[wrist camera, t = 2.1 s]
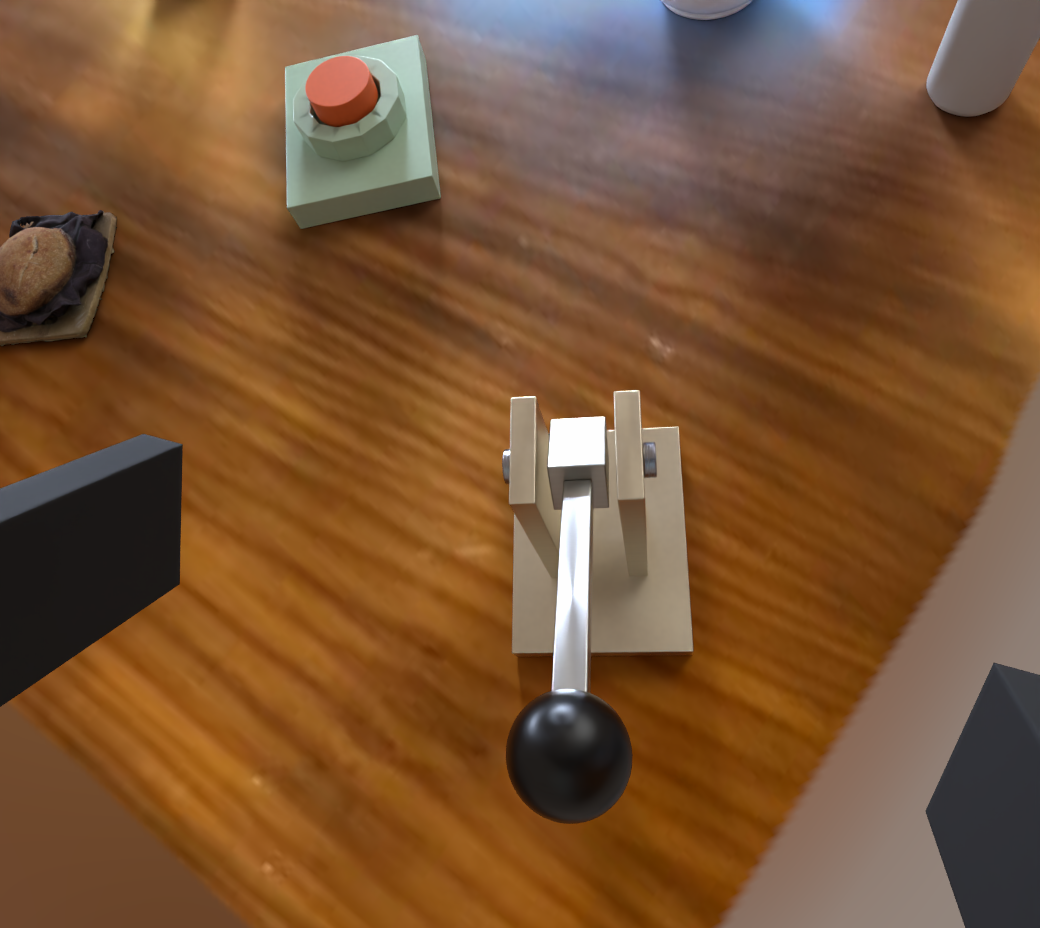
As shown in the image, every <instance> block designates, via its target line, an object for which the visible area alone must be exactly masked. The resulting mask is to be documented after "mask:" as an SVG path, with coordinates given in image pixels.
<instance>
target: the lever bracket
mask: <svg viewBox="0 0 1040 928" xmlns="http://www.w3.org/2000/svg"><path fill="white" fill-rule="evenodd" d="M614 420H615V430H607V441H608V453H609V508H594V512H593V570H592V628H591V656H678V655H692V654H693V651H694V649H693V634H692V619H691V605H690V590H689V575H688V560H687V545H686V530H685V515H684V500H683V485H682V470H681V455H680V440H679V427H664V428H645V429H642V424H641V403H640V391H639V390H633V391H617V392H614ZM548 447H549V434H548V432H547V429H546V426H545V423H544V420H543V417H542V414H541V411H540V408H539V405H538V402H537V399H536V397H535V396H534V397H517V398H511V421H510V449H506V450H504V452H503V459H502V467H503V476H504V480H505V483H506V484H509V505H510V506H511V508H512V510H513V512H514V556H513V616H512V653H513V654H514V655H515V656H517V657H544V656H553V652H554V634H555V617H556V599H557V582H558V565H559V547H560V530H561V512H562V510H554V508H553V502H552V496H551V490H550V484H549V478H548V472H547V459H548Z"/></svg>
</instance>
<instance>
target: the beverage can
mask: <svg viewBox="0 0 1040 928" xmlns="http://www.w3.org/2000/svg"><path fill="white" fill-rule="evenodd" d="M1039 38H1040V0H958V2H957V4H956V7H955V9H954V12H953V14H952V17H951V19H950V22H949V24H948V27H947V29H946V32H945V34H944V37H943V40H942V42H941V45H940V47H939V50H938V52H937V55H936V57H935V60H934V62H933V65H932V67H931V70H930V72H929V75H928V77H927V85H926V87H927V91H928V94H929V96H930V98H931V99H932V101H933V102H934V104H935V105H936V106H938V107H939V108H940V109H942V110H944V111H946V112H948V113H951V114H954V115H958V116H966V117H970V116H978V115H981V114H984V113H987V112H990V111H992V110H994V109H995V108H997V107H999V106H1000V105H1002V103H1003V102H1004V101H1005V100H1006V99H1007V98H1008V96H1009V95H1010V93H1011V91H1012V89H1013V87H1014V85H1015V83H1016V81H1017V79H1018V78H1019V76H1020V74H1021V72H1022V70H1023V68H1024V66H1025V64H1026V62H1027V60H1028V59H1029V57H1030V55H1031V53H1032V51H1033V49H1034V47H1035V45H1036V43H1037V42H1038V40H1039Z"/></svg>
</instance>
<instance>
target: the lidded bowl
mask: <svg viewBox="0 0 1040 928" xmlns="http://www.w3.org/2000/svg"><path fill="white" fill-rule="evenodd" d="M660 1H662V2H663V3H664V4H665V5H666V6H667V7H668V8H669V9H670V10H671V11H673V12H674V13H676V14H678V15H681V16H683V17H686V18H690V19H697V20H710V19H718V18H723V17H726V16H729V15H732V14H734V13H736V12H738V11H740V10H741V9H743V8H745V7H746V6H747V5H748V4H750V3H751V2H752V1H753V0H660Z"/></svg>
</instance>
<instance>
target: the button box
mask: <svg viewBox="0 0 1040 928" xmlns="http://www.w3.org/2000/svg"><path fill="white" fill-rule="evenodd" d="M339 56H352V57H356V58H359V59H360V60H362V61H363V62H364V63H365V64H366V65H367V67H368V69H369V71H370V73H371V76H372V78H373V81H374V83H375V85H376V88H377V91H378V100H377V103H376V106H375V108H374V109H373V111H372V112H371V113H369V114H368V115H367V116H365V117H364V118H362V119H361V120H359V121H358V122H357V123H354V124H350V125H346V126H341V127H333V126H329V125H327V124H325V123H323V122H322V121H321V120H320V119H319V118H318V116H317V115H316V113H315V111H314V109H313V107H312V105H311V103H310V101H309V99H308V97H307V95H306V91H305V85H306V81H307V79H308V77H309V75H310V74H311V72H312V71H313V70H314V69H315V68H316V67H317V66H318V65H320V64H321V63H323V62H324V61H326V60H329V59H331V58H334V57H339ZM285 88H286V170H287V209H288V210H289V212H290V213H291V215H292V216H293V218H294V219H295V221H296V222H297V224H298V225H299V227H300V228H301V229H303V228H307V227H312V226H317V225H321V224H326V223H330V222H335V221H339V220H344V219H348V218H353V217H358V216H362V215H367V214H371V213H376V212H380V211H385V210H389V209H394V208H399V207H403V206H408V205H412V204H417V203H421V202H426V201H430V200H435V199H440V198H441V194H440V185H439V176H438V167H437V158H436V148H435V139H434V130H433V121H432V111H431V102H430V93H429V84H428V75H427V65H426V59H425V56H424V53H423V50H422V47H421V44H420V41H419V38H418V35H415V36H411V37H407V38H403V39H398V40H394V41H390V42H386V43H382V44H378V45H374V46H370V47H366V48H362V49H357V50H353V51H349V52H345V53H341V54H337V55H333V56H329V57H325V58H320V59H316V60H312V61H308V62H304V63H300V64H296V65H292V66H288V67H285Z"/></svg>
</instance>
